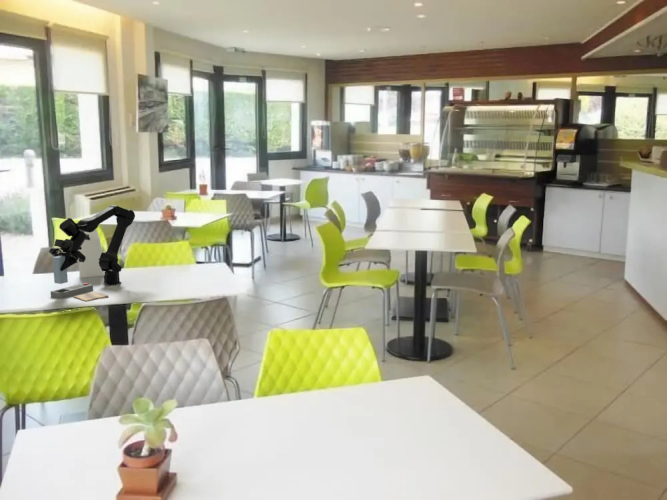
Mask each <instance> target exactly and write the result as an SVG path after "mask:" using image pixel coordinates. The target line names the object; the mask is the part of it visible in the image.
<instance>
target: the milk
mask: <svg viewBox="0 0 667 500" xmlns="http://www.w3.org/2000/svg"><path fill="white" fill-rule="evenodd" d="M84 233H85V234H88V235H89V237H90V240H85V241H84V242H83V244H82V245H81V248H82V249H81V250H78V251H80V252H81V253H82V254H83V255H84V256H85V257H86V260H85V261H84V263H83V262H79V261H78V262H79V263H78V265H79V267H78V268H79V279H81V278H90V277H91V278H94V277H104V275H105V274H104V272H105V271H102V270H101V267H100V266H99V258H100V256H101V253H102V244H101V238H100V237H101V236H100V235H99V232H98V229H97V228H96V229H95V230H94V231H93V232H84Z"/></svg>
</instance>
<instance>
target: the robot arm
mask: <svg viewBox="0 0 667 500" xmlns="http://www.w3.org/2000/svg"><path fill="white" fill-rule="evenodd" d="M114 216H115V218H116V227H115V229H114V232H113V235H112V237H111V240H110V243H109V245H108V247H107V250H106V251H105V252H104V251H103V252H102V251H101V252H102V253H101V256H100V258H99V266H100V267H101V270H102V271H104V276H103V283H102V284H105V285H107V286H113V285H117V284H118V285H119V284H122V281H120V272H122V270H123V269H122V266H121V265H120V264H119V263H118V262H119V256H118V252H119V249H120V247H121V244H122V242H123V239H124V237H125V234H126V231H127V229H128V227H130V226H131V225H132V224H133V222H134V221H135V217H136V214H135V211H133V210H132V209H127V208H123V207H121V206H118V205H113V204H112V205H109V206H108V207H107V208H105V209H103V210H101V211H100V212H98V213H96V214H94V215H93V216H90V217H86V218H82V219H80V220H79V221H78V222H75V221H74V220H73V218H71V217H68V218H67V219H65V220H63V221H62V222H61V223H60V224H59V227H58V228H59V229H60V231H62V232H63V233H64V234H65V235H66V236H68V237H70V238H65V239H60V238H59V239H58V238H57V239H54V244H53V246H54V247H51V248H50V249H49V250H48V253H50V255H51V256H52V257H56V256H65V261H64V263H63V265H62V266H61V268H60V271H63V270H65V269H66V268H67V269H68V268H70V267H71V266H73V265H75V264H79V263H78V262H83V263H84V261H85V260H86V257H85V256H84V255H83V254H82V253H81V252H80V251H79V250H81V249H82V248H81V245H82V244H83V242H84V241H85V240H90V237H89V235H88V234H85V233H84V232H93V231H94V230H95V229H96V230H97V229H98V228H99V225H100V224H101V223H103V222H105V221H107V220H108V219H110V218H112V217H114ZM57 247H58V248H57Z"/></svg>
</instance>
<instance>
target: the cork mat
mask: <svg viewBox="0 0 667 500" xmlns="http://www.w3.org/2000/svg"><path fill="white" fill-rule="evenodd" d="M72 298H74V299H77V300H80V301H83V302H86V303H87V302H90V301H91V302H92V301H94V300H101V299H102V300H103V299H104V298H105V299H108V298H109V295H108V294H104V293H101V292H97V291H92V292H89V293H88V292H86V293H81V294H77V295H73V296H72ZM105 299H104V300H105Z"/></svg>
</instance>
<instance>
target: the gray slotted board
mask: <svg viewBox="0 0 667 500" xmlns="http://www.w3.org/2000/svg"><path fill="white" fill-rule="evenodd" d="M91 291H92V292H93V291H94V285H93V284H90V282H83V283H79V284H78V283H77V284H73V285H70V286H67V287H62V288H58V289H55V290H51V291H50V297H51V298H55V299H61V300H63V299H66V298H69V297H73V296H77V295H82V294H85V293H88V292H91Z"/></svg>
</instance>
